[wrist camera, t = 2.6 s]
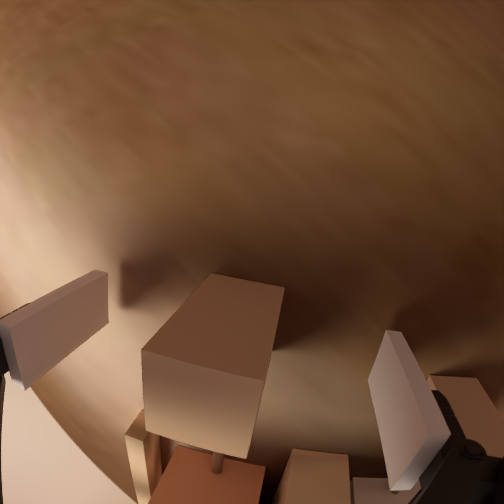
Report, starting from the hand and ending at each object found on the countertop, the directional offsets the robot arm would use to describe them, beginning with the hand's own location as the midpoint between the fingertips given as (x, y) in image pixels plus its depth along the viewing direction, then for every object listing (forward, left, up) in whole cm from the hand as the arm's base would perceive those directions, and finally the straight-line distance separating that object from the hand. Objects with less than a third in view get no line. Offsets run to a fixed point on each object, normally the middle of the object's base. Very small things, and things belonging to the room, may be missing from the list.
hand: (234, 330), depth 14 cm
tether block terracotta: (+7, 0, -1) cm, 7 cm away
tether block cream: (+9, +12, -1) cm, 15 cm away
